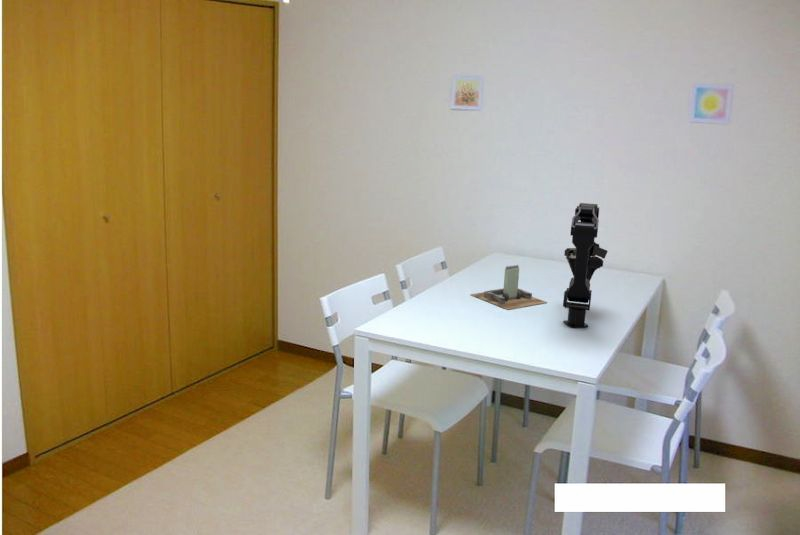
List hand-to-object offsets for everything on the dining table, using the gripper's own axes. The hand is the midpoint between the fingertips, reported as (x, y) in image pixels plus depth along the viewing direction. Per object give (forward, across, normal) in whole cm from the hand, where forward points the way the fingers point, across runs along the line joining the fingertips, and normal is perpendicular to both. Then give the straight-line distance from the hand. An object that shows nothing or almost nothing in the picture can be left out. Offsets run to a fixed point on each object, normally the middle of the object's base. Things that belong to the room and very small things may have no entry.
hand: (581, 280), depth 249 cm
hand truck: (+12, +18, +20) cm, 29 cm away
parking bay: (+12, +18, +20) cm, 29 cm away
